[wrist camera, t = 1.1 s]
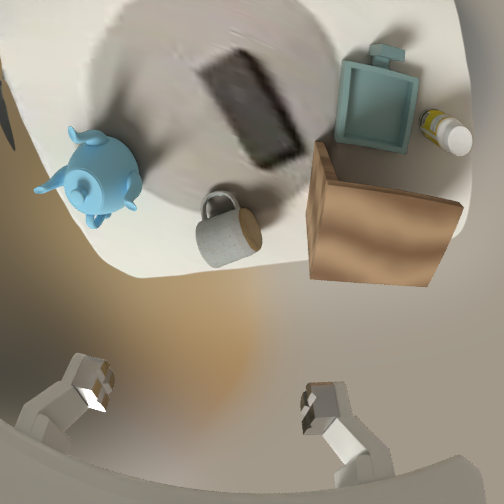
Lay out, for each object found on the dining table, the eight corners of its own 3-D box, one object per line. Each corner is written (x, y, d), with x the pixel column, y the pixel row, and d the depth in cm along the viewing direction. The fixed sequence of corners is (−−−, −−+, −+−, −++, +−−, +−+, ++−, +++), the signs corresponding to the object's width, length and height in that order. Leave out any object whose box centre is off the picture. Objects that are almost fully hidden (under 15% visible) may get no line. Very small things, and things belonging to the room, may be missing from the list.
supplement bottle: (447, 136, 32) (476, 156, 25) (421, 141, 33) (447, 163, 27) (442, 105, 29) (473, 120, 22) (415, 110, 30) (443, 125, 24)
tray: (343, 39, 26) (351, 36, 22) (414, 57, 25) (430, 59, 22) (333, 137, 35) (339, 148, 31) (400, 148, 34) (412, 161, 30)
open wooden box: (314, 141, 36) (327, 184, 25) (418, 159, 35) (463, 207, 24) (305, 215, 44) (310, 279, 33) (398, 225, 42) (426, 287, 31)
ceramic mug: (267, 233, 47) (262, 263, 41) (224, 248, 50) (215, 278, 44) (236, 178, 41) (225, 202, 35) (191, 199, 44) (175, 224, 38)
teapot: (113, 218, 48) (86, 253, 40) (64, 160, 41) (28, 188, 33) (165, 176, 42) (137, 210, 34) (108, 107, 35) (67, 126, 27)
